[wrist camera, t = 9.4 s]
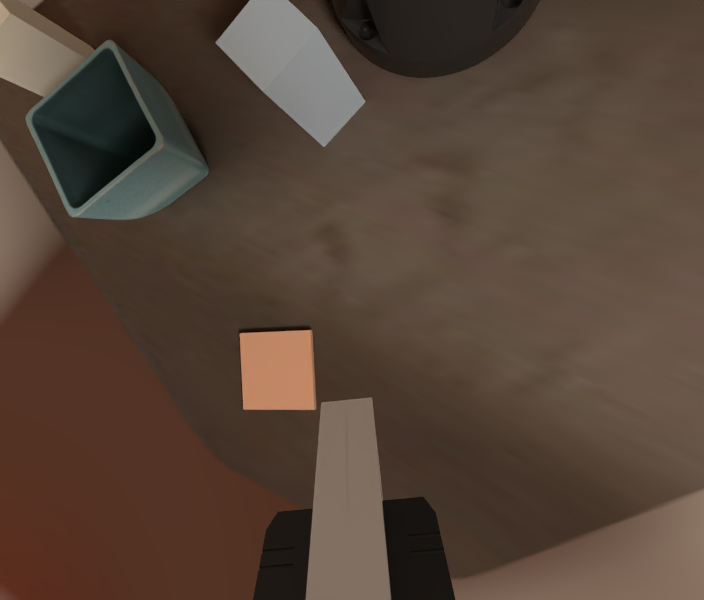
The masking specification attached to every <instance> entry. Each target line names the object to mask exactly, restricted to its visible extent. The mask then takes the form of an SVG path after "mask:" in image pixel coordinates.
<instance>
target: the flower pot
mask: <svg viewBox="0 0 704 600" xmlns="http://www.w3.org/2000/svg"><path fill="white" fill-rule="evenodd" d="M26 123H27V125H28V128H29V130H30V132H31V134H32V136H33V138H34V140H35V143H36V144H37V147H38V149H39V151H40V153H41V156H42V158H43V160H44V162H45V164H46V166H47V168H48V170H49V173H50V175H51V177H52V179H53V182H54V184H55V186H56V188H57V190H58V192H59V195H60V197H61V200H62V202H63V204H64V206H65V208H66V210H67V211H68V213H69V215H70V216H72V217H81V218H95V219H111V220H132V219H138V218H142V217H145V216H148V215H150V214H153V213H155V212H157V211H159V210H161V209H163V208H164V207H166V206H168V205H169V204H171V203H172V202H173V201H175V200H176V199H177V198H178V197H180V196H181V195H182V194H184V193H185V192H186V191H188V190H189V189H190V188H192V187H193V186H194V185H196V184H197V183H198V182H200V181H201V180H202V179H204V178H205V177H206V176H207V175H208V173H209V168H208V165H207V163H206V161H205V159H204V158H203V156H202V154H201V152H200V150H199V148H198V146H197V144H196V142H195V141H194V139H193V137H192V135H191V133H190V131H189V129H188V127H187V125H186V123H185V121H184V119H183V118H182V116H181V114H180V112H179V110H178V108H177V106H176V105H175V103H174V101H173V100H172V98H171V97H170V95H169V94H168V93H167V91H166V90H165V89H164V88H163V87H162V85H161V84H160V83H159V82H158V81H157V80H156V79H155V78H154V77H153V76H152V75H151V74H150V73H149V72H147V71H146V70H145V69H144V68H143V67H142V66H141V65H140V64H138V63H137V62H136V61H135V60H134V59H133V58H132V57H131V56H129V55H128V54H127V53H126V52H125V51H124V50H123V49H121V48H120V47H119V46H118V45H117V44H116V43H115V42H114V41H112V40H107V41H105V42H104V43H103V44H102V45H100V46H99V47H98V48H97V49H96V50H95V51H94V52H93V53H92V54H91V55H89V57H87V58H86V59H85V60H84V61H83V62H82V63H81V64H80V65H79V66H78V67H77V68H76V69H75V70H74V71H73V72H71V73H70V74H69V75H68V76H67V77H66V78H65V79H64V80H63V81H62V82H61V83H60V84H59V85H58V86H57V87H56V88H54V89H53V90H52V91H51V92H50V93H49V94H48V95H46V97H44V98H43V99H42V100H41V101H40V102H38V103H37V104H36V105H35V106H34V107H33V108H32V109H31V110H30V111H29V112H28V114H27V115H26Z"/></svg>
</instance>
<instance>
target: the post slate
mask: <svg viewBox="0 0 704 600" xmlns="http://www.w3.org/2000/svg"><path fill="white" fill-rule="evenodd" d="M216 44H217V45H218V46H219V47H220V48H221V49H222V50H223V51H224V52H225V53H226V54H227V55H228V56H229V57H230V58H231V59H232V60H233V61H234V63H235V64H236V65H237V66H238V67H239V68H240V69H241V70H242V71H243V72H244V73H245V74H246V75H247V76H248V77H249V78H250V79H251V80H252V81H253V82H254V83H255V84H256V85H257V86H258V87H259V88H260V89H261V90H262V91H263V92H264V93H265V94H266V95H267V96H268V97H269V98H270V99H271V100H272V101H274V102H275V103H276V104H277V105H278V106H279V107H280V108H281V109H282V110H283V111H285V112H286V113H287V114H288V115H289V116H290V117H291V118H292V119H293V120H294V121H296V122H297V123H298V124H299V125H300V126H301V127H302V128H303V129H304V130H306V131H307V132H308V133H309V134H310V135H311V136H312V137H313V138H314V139H315V140H317V141H318V142H319V143H320V144H321V145H322V146H323V147H325V146H326V145H327V143H328V142H329V141H330V140H331V139H332V138H333V137H334V136H335V135H336V134H337V133H338V131H339V130H340V129H341V128H342V127H343V126H344V125H345V124H346V123H347V122H348V120H349V119H350V118H351V117H352V116H353V115H354V114H355V113H356V112H357V111H358V110H359V108H360V107H361V106H362V105H363V104H364V103H365V100H364V99H363V97H362V96H361V94H360V93H359V91H358V89H357V88H356V86H355V85H354V83H353V82H352V80H351V79H350V77H349V76H348V74H347V73H346V71H345V70H344V68H343V66H342V65H341V63H340V62H339V60H338V59H337V57H336V56H335V54H334V53H333V51H332V50H331V48H330V47H329V45H328V43H327V42H326V40H325V39H324V37H323V36H322V34H321V33H320V31H319V30H318V28H317V27H316V26H315V25H314V24H313V23H312V22H311V21H309V20H308V19H307V18H306V17H305V16H304V15H303V14H302V13H301V12H300V11H299V10H298V9H297V8H296V7H295V6H294V5H293V4H292V3H291V2H289V1H288V0H250V1H249V2H248V3H247V4H246V6H245V7H244V8H243V9H242V11H241V12H240V13H239V14H238V16H237V17H236V18H235V19H234V21H233V22H232V23H231V24H230V26H229V27H228V28H227V29H226V30H225V32H224V33H223V34H222V35H221V37H220V38H219V39H218V40H217V42H216Z"/></svg>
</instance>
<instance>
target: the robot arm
mask: <svg viewBox="0 0 704 600" xmlns="http://www.w3.org/2000/svg"><path fill="white" fill-rule="evenodd" d="M539 1H540V0H332V3H333V6H334V9H335V12H336V14H337V17H338V19H339V20H340V22H341V24H342V26H343V28H344V30H345V31H346V33H347V35H348V37H349V38H350V40H351V42H352V43H353V44H354V46H355V47H356V48H357V49H358V50H359V51H360V53H361V54H363V55H364V56H365V57H366V58H367V59H368V60H370V61H371V62H372V63H374V64H376V65H377V66H379V67H381V68H383V69H385V70H387V71H390V72H392V73H396V74H399V75H403V76H409V77H419V78H428V77H438V76H444V75H449V74H453V73H456V72H459V71H462V70H465V69H468V68H470V67H472V66H474V65H476V64H478V63H480V62H482V61H484V60H485V59H487V58H489V57H490V56H492V55H493V54H494V53H496V52H497V51H499V50H500V49H501V48H502V47H504V46H505V45H506V44H507V43H508V42H509V41H510V40H511V39H512V38H513V37H514V36H515V35H516V34H517V33H518V32H519V31H520V30H521V28H522V27H523V26H524V25H525V23H526V22H527V21H528V19H529V18H530V16H531V15H532V13H533V12H534V10H535V8H536V6H537V5H538V3H539ZM259 567H260V570H259V571H258V577H257V582H256V587H255V593H254V599H253V600H455V596H454V592H453V588H452V583H451V579H450V574H449V570H448V565H447V561H446V557H445V552H444V548H443V543H442V539H441V536H440V530H439V526H438V521H437V517H436V513H435V511H434V510H433V509H432V508H431V506H430V505H429V504H428V502H427V501H426V500H425V499H424V497H417V498H406V499H395V500H385V501H383V498H382V488H381V478H380V468H379V459H378V449H377V440H376V431H375V422H374V412H373V403H372V398H362V399H352V400H342V401H332V402H322V403H321V415H320V427H319V440H318V452H317V464H316V477H315V489H314V502H313V509H304V510H293V511H283V512H278V513H277V514H276V516H275V517H274V519H273V520H272V522H271V524H270V525H269V526H268V528H267V530H266V534H265V539H264V545H263V554H262V555H261V561H260V566H259Z"/></svg>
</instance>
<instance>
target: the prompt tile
mask: <svg viewBox="0 0 704 600" xmlns="http://www.w3.org/2000/svg"><path fill="white" fill-rule="evenodd" d="M240 350H241V371H242V391H243V409H260V410H315V409H316V392H315V373H314V353H313V334H312V330H297V331H275V332H253V333H240Z"/></svg>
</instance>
